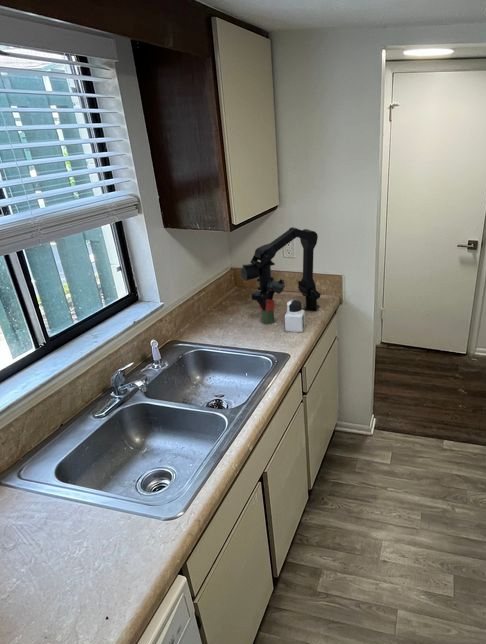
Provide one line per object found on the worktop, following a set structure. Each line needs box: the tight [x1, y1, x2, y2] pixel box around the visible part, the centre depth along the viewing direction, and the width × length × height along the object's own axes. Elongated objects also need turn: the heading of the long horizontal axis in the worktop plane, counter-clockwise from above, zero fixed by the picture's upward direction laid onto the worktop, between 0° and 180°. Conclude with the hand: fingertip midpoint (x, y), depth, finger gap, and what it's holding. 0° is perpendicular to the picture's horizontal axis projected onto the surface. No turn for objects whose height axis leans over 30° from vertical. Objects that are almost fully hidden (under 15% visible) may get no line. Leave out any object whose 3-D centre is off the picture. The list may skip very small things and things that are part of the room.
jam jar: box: [260, 308, 275, 325], centre depth 203 cm, size 6×6×10 cm
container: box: [284, 299, 306, 333], centre depth 195 cm, size 8×8×13 cm
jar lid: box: [259, 299, 276, 311], centre depth 202 cm, size 7×7×3 cm
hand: (267, 307), depth 202 cm, fingers closed on jar lid, 6 cm apart
